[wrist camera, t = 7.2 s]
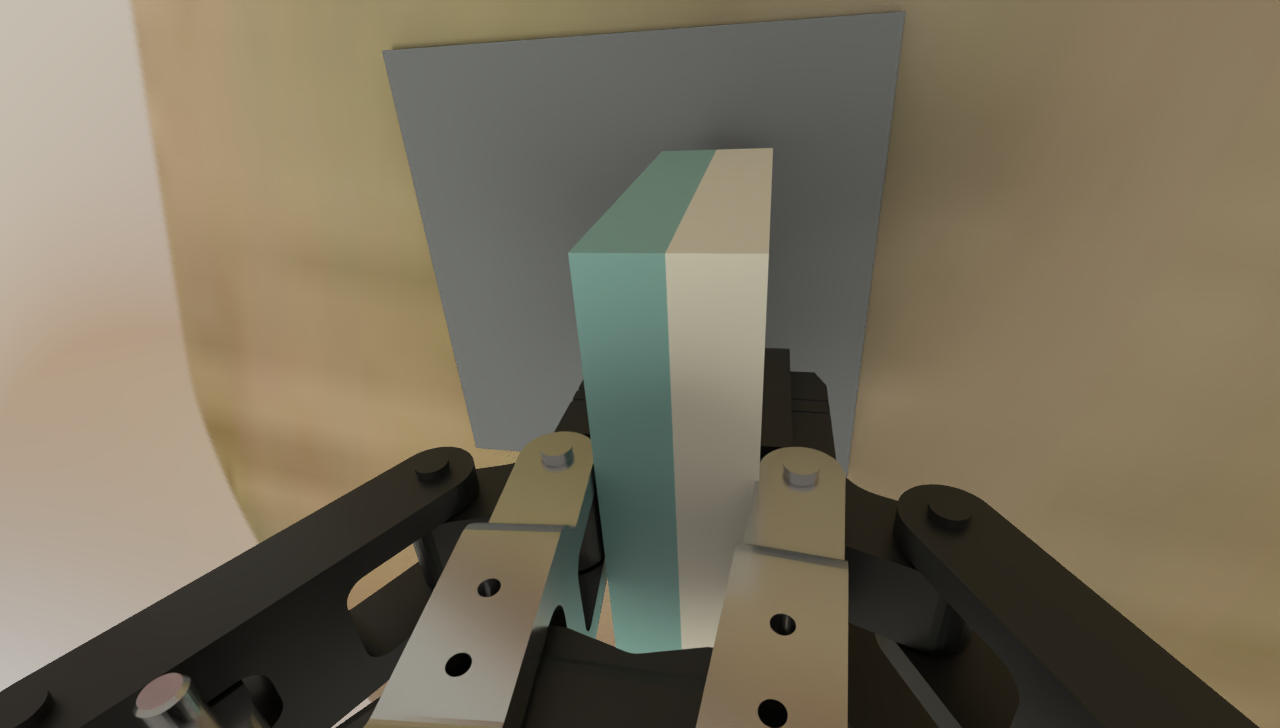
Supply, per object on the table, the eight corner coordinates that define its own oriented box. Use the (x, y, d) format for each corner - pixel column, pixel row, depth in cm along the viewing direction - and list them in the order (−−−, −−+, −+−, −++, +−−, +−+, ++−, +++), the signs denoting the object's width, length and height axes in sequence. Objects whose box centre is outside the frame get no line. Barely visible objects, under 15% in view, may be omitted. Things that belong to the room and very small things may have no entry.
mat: (901, 11, 15) (905, 10, 14) (845, 468, 21) (846, 477, 21) (391, 50, 18) (382, 50, 17) (481, 440, 24) (476, 448, 24)
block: (773, 147, 13) (768, 253, 7) (758, 478, 17) (748, 721, 11) (662, 151, 13) (567, 252, 7) (675, 472, 18) (622, 701, 12)
